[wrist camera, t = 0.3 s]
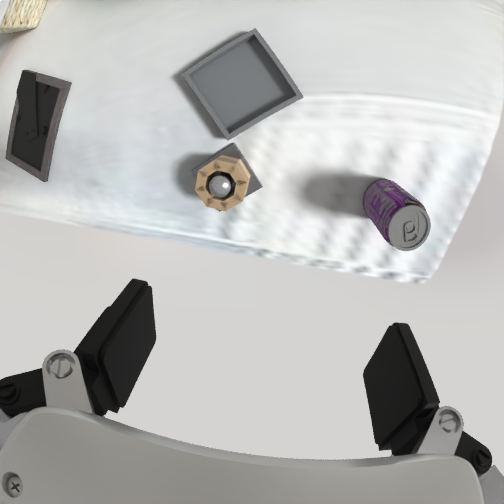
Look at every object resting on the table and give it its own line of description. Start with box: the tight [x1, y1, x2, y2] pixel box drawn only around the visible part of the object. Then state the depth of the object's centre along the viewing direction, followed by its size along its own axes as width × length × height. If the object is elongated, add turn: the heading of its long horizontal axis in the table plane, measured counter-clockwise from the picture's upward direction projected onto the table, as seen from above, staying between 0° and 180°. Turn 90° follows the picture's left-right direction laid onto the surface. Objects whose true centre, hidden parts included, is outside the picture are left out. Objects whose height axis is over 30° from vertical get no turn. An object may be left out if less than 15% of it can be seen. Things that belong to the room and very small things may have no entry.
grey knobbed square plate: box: [192, 143, 263, 211], centre depth 41 cm, size 8×8×6 cm
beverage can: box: [363, 179, 431, 251], centre depth 37 cm, size 7×7×12 cm
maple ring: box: [195, 155, 251, 211], centre depth 41 cm, size 7×7×4 cm
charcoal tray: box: [182, 28, 303, 141], centre depth 35 cm, size 12×12×2 cm
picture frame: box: [6, 70, 72, 182], centre depth 40 cm, size 16×2×21 cm
